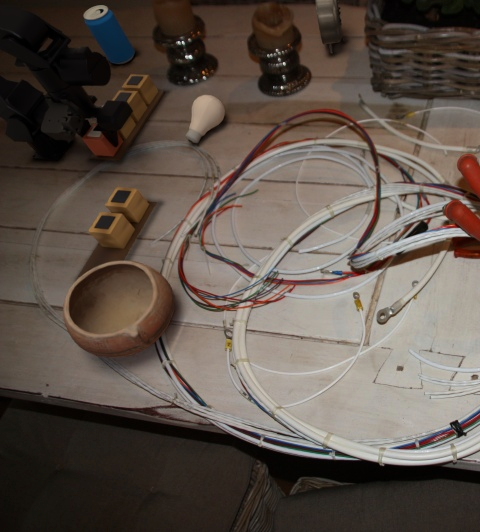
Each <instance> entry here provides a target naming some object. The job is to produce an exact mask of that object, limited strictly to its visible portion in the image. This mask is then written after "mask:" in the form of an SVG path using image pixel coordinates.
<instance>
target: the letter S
mask: <svg viewBox="0 0 480 532" xmlns="http://www.w3.org/2000/svg"><path fill="white" fill-rule="evenodd" d="M96 125H97V123H92V125H91V127H90V129H89V130H88V132H87V133H86V134H85V136H84V137H83V138H82V137H81V140H82V141H83V142H84V144H85V145H86V147H87V148H88V149H89V150H90V151H91V153H94V155H101V156H114V155H115V153H116V152H117V150H118V149H119V147H120V146H121V144H122V143H123V140H122V139H121V137H120V136H119V134H118V142H119V144H118V146H117V147H114V146H113V145H112V144H111V143H110V142H109V141H108V140H107V139H106V137H105V136H104V135H103V134H102V133H101V132H100V131H93V129H94V128H95V126H96Z"/></svg>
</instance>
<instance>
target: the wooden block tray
mask: <svg viewBox="0 0 480 532" xmlns="http://www.w3.org/2000/svg"><path fill="white" fill-rule="evenodd" d="M157 204H158V202H157V201H148V200H147V199H146V198H145V197H144V196H143V194H142V193H141V191H140V190H139V189H138V188H133V187H132V188H131V187H121V186H116V187H115V189H114V190H113V192H112V194H111V195H110V196H109V198H108V200H107V201H106V203H105V204H104V206H105V207H106V209H107V210H108V211H109V212H106V211H100V212H99V214H98V215H97V217H96V219H94V222H93V223H92V225H91V226H90V228H89V229H88V233H89V234H90V235H91V236H92V237H93V238H94V239H95V241H97V242H98V243H97V244H96V246H95V248H94V250H93V251H92V253H91V254H90V255H89V258H88V259H87V261H86V262H85V264H84V265H83V267H82V269H81V271H80V272H79V274H78V276H77V277H78V278H80V277H81V276H82V275H83V274H85V273H86V272H88V271H89V270H91V269H93V268H94V267H97V266H99V265H101V264H105V263H108V262H112V261H124V260H125V259H126V258H127V256H128V254H129V252H130V251H131V249H132V247H133V246H134V244H135V242H136V240H137V238H138V237H139V235H140V233H141V232H142V230H143V228H144V227H145V225H146V223H147V221H148V220H149V218H150V216H151V214H152V212H153V211H154V209H155V207H156V205H157Z"/></svg>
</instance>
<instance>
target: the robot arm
mask: <svg viewBox="0 0 480 532" xmlns="http://www.w3.org/2000/svg"><path fill="white" fill-rule="evenodd" d="M49 39H50V40H52V41H51V43H50V44H48V46H47V47H46V48H44V49H41V48H42V47H43V46H44V45H45V44H46V42H47V41H48V40H49ZM70 43H72V39H71V38H70V37H68V36H67V35H66V34H64V33H63V31H62V30H60V29H58V28H57V27H55V26H53V25H52V24H50V23H49V22H47V21H46V20H45V19H43V18H42V17H41V16H39V15H38V14H36V13H34V12H32V11H31V10H27V9H25V8H20V7H17V6H13V5H9V4H7V5H6V4H5V5H3V4H2V5H0V51H2V52H4V53H6V54H8V55H10V56H12V57H14V58H15V61H14V63H13V64H14V66H15V67H17V68H27V69H28V71H30V73H31V74H32V75H33V76H34V78H35V79H36V81H38V83H39V84H40V85H41V87H42V88H43V89H44V91H45V92H46V94H45V93H44V92H43V91H41V90H39V89H38V88H36V87H35V86H33V85H32V84H31V83H30V82H29V81H27V80H25V79H21V80H20V81H15V80H10V79H7V78H5V77H3V75H1V74H0V118H1V120H3V121H4V122H6V123H7V124H6V128H5V133H4V135H5V136H6V137H7V138H9V139H10V140H11V141H13V142H15V143H27V144H28V145H29V146H30V148H31V149H32V150H33V151H34V153H33V155H32V156H31V159H33V160H37V161H38V160H39V161H51V162H53V161H54V162H57V161H59V160H61V158H62V156H63V155H64V154H65V152H66V151H67V150H68V148H69V147H70V146H71V144H72V143H73V142H74V139H75V138H76V135H78V136H79V137H81V139H82V138H83V137H84V136H85V134H86V133H87V132H88V130H89V129H90V127H91V126H92V125H91V122H90V121H93V120H94V119H95V122H96V124H97V125H96V126H95V128H94V129H93V131H100V132H101V133H102V134H103V135H104V136H105V137H106V139H107V140H108V141H109V142H110V143H111V144H112V145H113V146H114V147H117V146H118V144H119V142H118V133H117V131H118V130H120V129H121V128H122V127H123V126H124V124H125V123H126V121H127V120H128V118H129V117H130V115H131V114H132V112H133V110H132V108H131V107H130V105H129V104H128V102H126V101H112V100H113V99H107V101H106V102H105V103H104V104H102V105H99V106H97V105H95V104H96V102H97V101H98V98H97V97H96V95H93V94H91V95H90V94H89V93H88V92H87V91H86V89H85V88H84V87H105V86H107V85H108V84H109V83H110V81H111V77H112V70H111V65H110V63H109V62H110V61H109V60H108V58H107V56H104V55H103V54H102V53H100V52H98V51H92V50H91V48H90V47H89V46H88V45H87V46H85V45H84V46H83V45H82V46H79V47H69V44H70Z"/></svg>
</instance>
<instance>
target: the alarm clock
mask: <svg viewBox="0 0 480 532" xmlns="http://www.w3.org/2000/svg"><path fill="white" fill-rule="evenodd" d="M314 2H315V11H316V17H317V18H316V19H317V23H318V24H317V25H318V30H319V34H320V39H321V43H322V44H323V45H328V47H329V51H330V55H333V54H334V51H333V44H337V43H340V42H341V41H343V42H346V40H345V38H344V37H343V31H342V25H343V23H342V18H341V13H342V11H340V10H341V6H339V2H340V1H339V0H314Z"/></svg>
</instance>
